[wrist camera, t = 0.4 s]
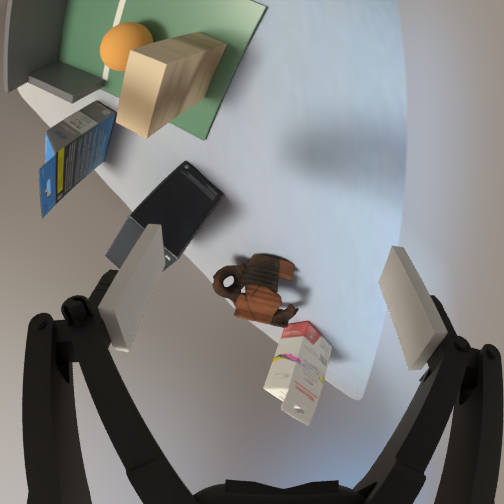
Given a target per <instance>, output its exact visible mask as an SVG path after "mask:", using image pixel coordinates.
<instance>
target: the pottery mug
mask: <svg viewBox="0 0 504 504" xmlns="http://www.w3.org/2000/svg"><path fill="white" fill-rule="evenodd" d="M293 272H294V264H293V263H290V262H288V261H285V260H281V259H278V258H273V257H271V256H266V255H253V256H252V258H251V259H250V261H249V262H248V264H247V265H245V264H244V263H241V264H240V265H237V266H235V265H231V266H225V267H223V268H222V269H220V270H218V271H217V272H216V274H215V275H214V276H213V278H214V283H213V288H214V290H215V292H216V293H217V294H218V295H220V296H222V297H225V298H229V299H230V300H231V301H233V303H234V305H235V307H236V310H235V313H234V315H235V316H236V317H239V318H243V319H247V320H251V321H257V322H261V323H265V324H270V325H273V326H278V327H283V328H284V327H288V321H289V319H291V318H292V317H293V316H294V315H295V314H296V313H297V311H298V310H299V309H298V308H296V309H295V307H294V306H293V305H292V304H290V305H289V306H288V307H287V309H285V310H282V309H278V308H279V307H280V305H281V304H282V299H281V296H280V295H279V294H278V293H277V291H278V278H279V279H286V280H289V281H291V280H292V279H293V276H294V275H293ZM229 276H233V277H234V283H233V284H232V285H230V286H229V287H224V285H223V281H224V280H225V279H226V278H227V277H229ZM244 286H245V292H246V293H241V289H242V288H243V287H244Z"/></svg>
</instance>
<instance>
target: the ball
mask: <svg viewBox="0 0 504 504" xmlns="http://www.w3.org/2000/svg"><path fill="white" fill-rule="evenodd" d="M151 43H153V37H152V35H151V33H150V31H149V30H148V29H147V28H146V27H145V26H143V25H142V24H139V23H136V22H125V23H121V24H118V25H116V26H115V27H113V28H112V29H110V30H109V31H108V32H107V33H106V34H105V36H104V38H103V39H102V42H101V45H100V56H101V59H102V61H103V62H104V64H105V65H106V66H107V67H109V68H110V69H112V70H115V71H125V70H126V66H127V62H128V57H129V53H130V50H132V49H135V48H138V47H141V46H144V45H148V44H151Z"/></svg>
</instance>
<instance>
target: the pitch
mask: <svg viewBox="0 0 504 504" xmlns="http://www.w3.org/2000/svg"><path fill="white" fill-rule="evenodd" d="M266 8H267V7H266V6H264V5H262V4H259V3H257V2H254V1H252V0H8V6H7V14H6V24H5V39H4V91H5V92H7V93H9V92H10V91H12V90H14V89H16V88H18V87H19V86H21V85H23V84H25V83H27V82H28V83H30V84H33V85H35V86H37V87H39V88H41V89H43V90H45V91H47V92H49V93H52V94H54V95H56V96H58V97H60V98H62V99H64V100H66V101H68V102H70V103H74V102H76V101H78V100H79V99H81V98H83V97H85V96H87V95H89V94H91V93H93V92H94V91H96V90H98V89H101V90H103V91H106V92H108V93H110V94H112V95H114V96H116V97H119V98H120V95H121V89H122V84H123V80H124V75H125V71H115V70H112V69H110V68H109V67H107V66H106V65H105V64H104V62H103V61H102V59H101V56H100V45H101V42H102V39H103V38H104V36H105V34H106V33H107V32H108V31H109V30H110V29H112V28H113V27H115V26H116V25H118V24H121V23H125V22H136V23H139V24H142V25H143V26H145V27H146V28H147V29H148V30H149V31H150V33H151V35H152V37H153V43H155V42H158V41H162V40H165V39H169V38H173V37H177V36H181V35H185V34H190V33H194V32H200V33H202V34H205V35H207V36H210V37H212V38H215V39H217V40H220V41H222V42H224V43H227V45H226V48H225V50H224V52H223V54H222V57H221V59H220V61H219V64H218V66H217V68H216V71H215V73H214V75H213V78H212V80H211V83H210V85H209V88H208V90H207V93H206V95H205V98H204V99H203V100H201V101H200V102H198V103H197V104H195V105H193V106H192V107H190V108H189V109H187V110H186V111H184V112H183V113H182V114H180V115H179V116H177V117H176V118H174V119H173V120H171V121H170V122H169V123H171V124H173V125H175V126H177V127H179V128H181V129H183V130H185V131H187V132H188V133H190V134H192V135H194V136H196V137H198V138H200V139H201V140H203V141H204V140H205V139H206V137H207V134H208V132H209V129H210V127H211V125H212V122H213V120H214V117H215V115H216V113H217V110H218V108H219V106H220V103H221V101H222V99H223V97H224V94H225V92H226V90H227V88H228V85H229V83H230V81H231V79H232V77H233V74H234V72H235V70H236V68H237V66H238V64H239V62H240V60H241V57H242V55H243V53H244V51H245V49H246V47H247V45H248V43H249V41H250V39H251V37H252V35H253V33H254V31H255V29H256V27H257V25H258V23H259V22H260V20H261V18H262V16H263V14H264V12H265V10H266Z"/></svg>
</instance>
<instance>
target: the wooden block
mask: <svg viewBox="0 0 504 504" xmlns="http://www.w3.org/2000/svg"><path fill="white" fill-rule="evenodd" d="M226 45H227V43H224V42H222V41H220V40H217V39H215V38H212V37H210V36H207V35H205V34H202V33H200V32H194V33H190V34H185V35H181V36H177V37H173V38H169V39H165V40H162V41H158V42H155V43H151V44H148V45H144V46H141V47H138V48H135V49H132V50H130V53H129V57H128V62H127V66H126V70H125V75H124V80H123V84H122V89H121V95H120V100H119V106H118V112H117V118H116V123H118V124H120V125H122V126H124V127H126V128H128V129H130V130H131V131H133V132H135V133H137V134H139V135H141V136H143V137H145V138H146V139H147V138H148V137H149V136H151V135H152V134H153V133H155V132H156V131H158V130H159V129H160V128H162V127H163V126H164V125H166V124H167V123H169V122H170V121H171V120H173V119H174V118H176V117H177V116H179V115H180V114H182V113H183V112H184V111H186V110H187V109H189V108H190V107H192V106H193V105H195V104H197V103H198V102H200V101H201V100H203V99H204V98H205V95H206V93H207V90H208V88H209V85H210V83H211V80H212V78H213V75H214V73H215V71H216V68H217V66H218V64H219V61H220V59H221V57H222V54H223V52H224V50H225V48H226Z"/></svg>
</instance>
